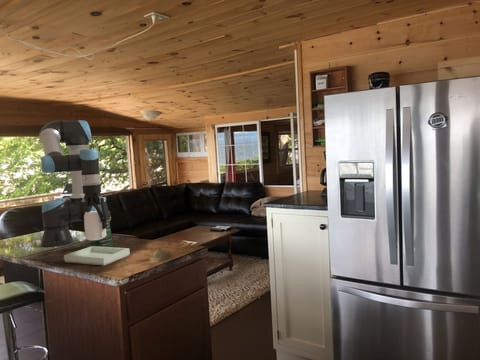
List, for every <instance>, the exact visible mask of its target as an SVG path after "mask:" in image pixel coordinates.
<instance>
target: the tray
mask: <svg viewBox="0 0 480 360" xmlns="http://www.w3.org/2000/svg"><path fill="white" fill-rule="evenodd" d="M130 255H131V254H130V248H127V247H114V246H112V247H98V246H92V245H91V246H87V247H86V248H82V249H79V250H75V251H71V252H69V253H66V254H64V255H63V258H64V259H63V260H64V263H73V264H83V265H95V266H107V265H109V264H112V263H113V262H116V261H119V260H121V259H123V258H126V257H129V256H130Z"/></svg>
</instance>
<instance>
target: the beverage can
mask: <svg viewBox="0 0 480 360" xmlns="http://www.w3.org/2000/svg"><path fill="white" fill-rule="evenodd" d="M84 221H85V228H84V233H85V232H86V236H85V239H86V240H88V241H92V240H100V239H103V238H104V237H106V236H104V237H101V234H100V221H101V220H100V217H99V214H98V212H97V210H96V211H90V212H88V213H86V212H85V215H84Z"/></svg>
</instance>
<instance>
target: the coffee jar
mask: <svg viewBox="0 0 480 360" xmlns="http://www.w3.org/2000/svg"><path fill="white" fill-rule="evenodd" d="M108 211H109V215H110V219H109V220H107V221H106V223H107V228H106V235H107V236H106V237H104V238H103V239H100V240H91V246H98V247H114V242H113V241H114V240H113V235H112V229H111V220H112V215H111V211H110V210H108Z"/></svg>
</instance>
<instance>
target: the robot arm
mask: <svg viewBox="0 0 480 360" xmlns="http://www.w3.org/2000/svg"><path fill="white" fill-rule="evenodd" d="M38 139H39V141H40V143H41V144H42V147H43V152H44V155H43V156H41V157H40V163H41V171H42V173H44V174H49V173H50V174H57V173H65V172H66V173H67V172H70V176H71V177H70V181H71V189H72V191H71V192H72V193H71V195H70V196H69V200H67V199H66V198H64V197H63V198H56V199H52V200H47V201H45V202H43V203H42V204H41V214H42V224H43V233H42V238H41V242H40V243H41V247H44V248H45V247H49V248H50V247H59V246H64V245H69V244H71V243H73V242H74V241H73V240H74V239H73V235H72V233H71V231H70V229H69V224H68V223H73V222H81V221H82V224H83V228H84V229H85V221H84V215H85V212H86V213H88V212H90V211H97V212H98V214H99V217H100V220H101V221H100V234H101V237H104V236H107V235H106V228H107V223H106V221H107V220H109V219H110V215H111V214H110V215H109V211H110V210H109V207H108V199H107V196H104V197H103V196H101V195H102V194H101V192H102V185H101V184H100V183H101V181H102V180H101V173H100V163H99V162H100V161H99V160H100V159H99V157H100V156H99V151H98V149H97V148H89V146H90V144H89V143H91V142H92V141H93V139H92V133H91V128H90V125H89V123H88V121H86V120H80V119H79V120H78V119H74V120H73V119H72V120H71V119H70V120H53V121H50V122H48V123H46V124H45V125H44V126H42V128H41V129H40V131H39V133H38ZM61 144H65V147H66V148H67V149H68V152H69V153H68V154H64V152H63V149H62V146H61ZM84 237H86V232H85V231H84Z"/></svg>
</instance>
